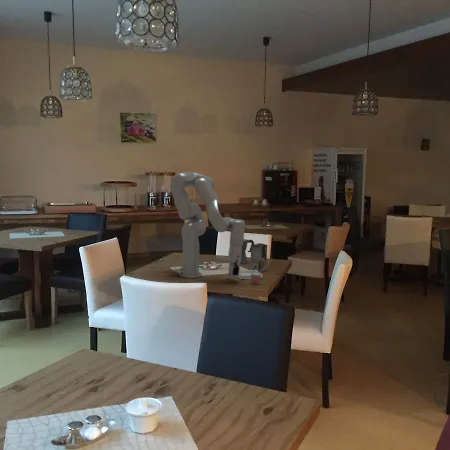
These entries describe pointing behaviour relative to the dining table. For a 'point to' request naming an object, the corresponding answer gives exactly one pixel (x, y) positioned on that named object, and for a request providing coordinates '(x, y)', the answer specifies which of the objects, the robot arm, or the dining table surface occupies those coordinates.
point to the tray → (247, 274)
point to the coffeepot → (244, 246)
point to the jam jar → (255, 277)
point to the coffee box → (258, 257)
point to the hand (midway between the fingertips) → (233, 272)
